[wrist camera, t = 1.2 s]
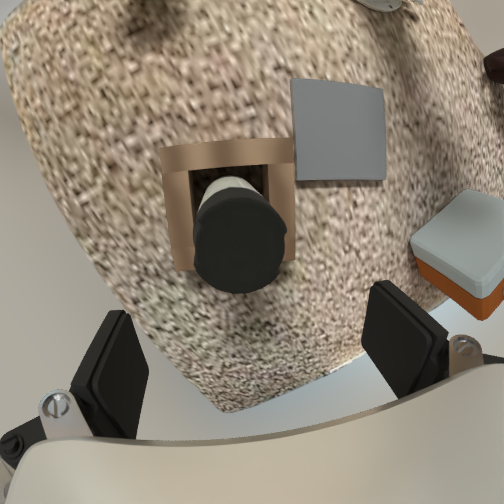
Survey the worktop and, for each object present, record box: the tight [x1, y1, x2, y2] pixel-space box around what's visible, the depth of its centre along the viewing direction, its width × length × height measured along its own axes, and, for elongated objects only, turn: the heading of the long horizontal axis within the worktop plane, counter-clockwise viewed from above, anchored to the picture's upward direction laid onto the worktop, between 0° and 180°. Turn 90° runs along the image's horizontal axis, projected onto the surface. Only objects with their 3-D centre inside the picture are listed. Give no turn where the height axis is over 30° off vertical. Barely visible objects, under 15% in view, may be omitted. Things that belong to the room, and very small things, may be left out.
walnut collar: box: [160, 138, 295, 272], centre depth 33 cm, size 15×15×5 cm
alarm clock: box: [410, 189, 504, 321], centre depth 32 cm, size 18×9×20 cm, turn 125°
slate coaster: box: [290, 78, 386, 180], centre depth 33 cm, size 14×14×1 cm
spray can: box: [193, 175, 287, 294], centre depth 26 cm, size 7×7×20 cm
